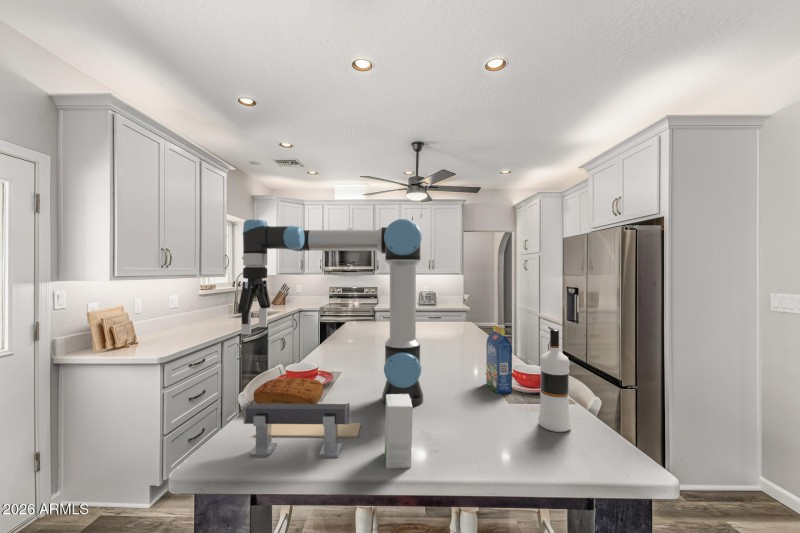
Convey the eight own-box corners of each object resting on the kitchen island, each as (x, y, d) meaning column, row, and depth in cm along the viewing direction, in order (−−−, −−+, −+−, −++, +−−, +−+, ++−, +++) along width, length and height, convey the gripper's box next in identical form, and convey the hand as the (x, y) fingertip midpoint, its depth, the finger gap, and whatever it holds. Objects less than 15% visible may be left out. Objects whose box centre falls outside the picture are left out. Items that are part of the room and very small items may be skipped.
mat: (360, 425, 112) (360, 423, 112) (357, 437, 104) (357, 435, 104) (264, 424, 112) (264, 423, 112) (253, 436, 104) (253, 435, 104)
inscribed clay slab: (248, 414, 120) (248, 390, 120) (270, 395, 138) (270, 374, 138) (313, 416, 119) (313, 391, 119) (327, 397, 136) (327, 376, 136)
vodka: (531, 423, 114) (532, 328, 114) (552, 418, 118) (553, 326, 118) (556, 435, 105) (556, 333, 105) (577, 429, 109) (578, 330, 109)
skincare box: (384, 452, 96) (384, 393, 96) (409, 451, 96) (409, 392, 96) (386, 469, 87) (386, 405, 87) (413, 468, 88) (413, 404, 88)
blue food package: (500, 383, 153) (500, 324, 153) (512, 393, 141) (512, 329, 141) (486, 383, 152) (486, 324, 152) (496, 393, 140) (496, 329, 140)
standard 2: (342, 445, 99) (342, 407, 99) (338, 457, 93) (338, 416, 93) (324, 445, 99) (324, 407, 99) (318, 457, 93) (319, 416, 93)
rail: (349, 418, 98) (349, 403, 98) (347, 424, 94) (347, 408, 94) (249, 418, 98) (249, 402, 98) (243, 423, 94) (243, 407, 94)
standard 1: (277, 445, 99) (277, 407, 99) (268, 457, 93) (268, 416, 93) (259, 445, 99) (259, 407, 99) (249, 456, 93) (249, 416, 93)
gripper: (259, 266, 133) (258, 324, 133) (225, 266, 108) (225, 337, 108) (279, 266, 132) (279, 324, 132) (250, 266, 108) (250, 337, 108)
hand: (255, 330), depth 120 cm, fingers open, 13 cm apart
